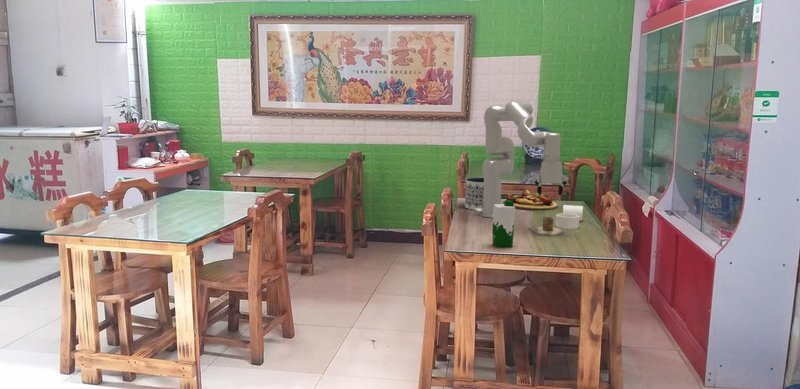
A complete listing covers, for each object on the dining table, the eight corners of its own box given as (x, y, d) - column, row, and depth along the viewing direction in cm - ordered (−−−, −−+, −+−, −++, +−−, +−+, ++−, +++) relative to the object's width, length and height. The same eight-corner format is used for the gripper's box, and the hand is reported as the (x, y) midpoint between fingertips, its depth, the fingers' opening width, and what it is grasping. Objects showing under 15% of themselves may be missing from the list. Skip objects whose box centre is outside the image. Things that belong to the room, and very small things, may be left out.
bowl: (558, 229, 312) (559, 217, 311) (553, 224, 322) (554, 213, 321) (581, 229, 312) (581, 217, 311) (574, 224, 323) (575, 213, 322)
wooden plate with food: (505, 210, 360) (506, 196, 359) (500, 200, 391) (500, 186, 390) (562, 212, 359) (563, 198, 357) (551, 202, 390) (553, 189, 389)
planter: (497, 211, 356) (499, 182, 353) (465, 210, 356) (466, 181, 354) (494, 205, 373) (495, 177, 371) (464, 204, 374) (464, 177, 372)
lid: (536, 235, 297) (536, 220, 296) (529, 228, 311) (530, 214, 310) (565, 235, 297) (566, 221, 296) (558, 228, 311) (558, 215, 310)
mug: (581, 222, 329) (582, 207, 327) (562, 221, 332) (563, 206, 330) (582, 218, 340) (583, 203, 339) (563, 216, 343) (564, 202, 342)
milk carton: (515, 247, 275) (517, 202, 272) (494, 247, 275) (496, 202, 271) (509, 242, 284) (511, 199, 281) (490, 242, 283) (491, 199, 280)
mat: (534, 236, 296) (534, 235, 296) (527, 229, 312) (527, 228, 312) (568, 236, 296) (568, 236, 296) (559, 229, 312) (559, 228, 312)
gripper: (535, 159, 294) (533, 195, 297) (571, 160, 295) (569, 196, 297) (531, 158, 302) (530, 193, 305) (567, 158, 302) (565, 193, 305)
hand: (549, 194), depth 301 cm, fingers open, 9 cm apart
